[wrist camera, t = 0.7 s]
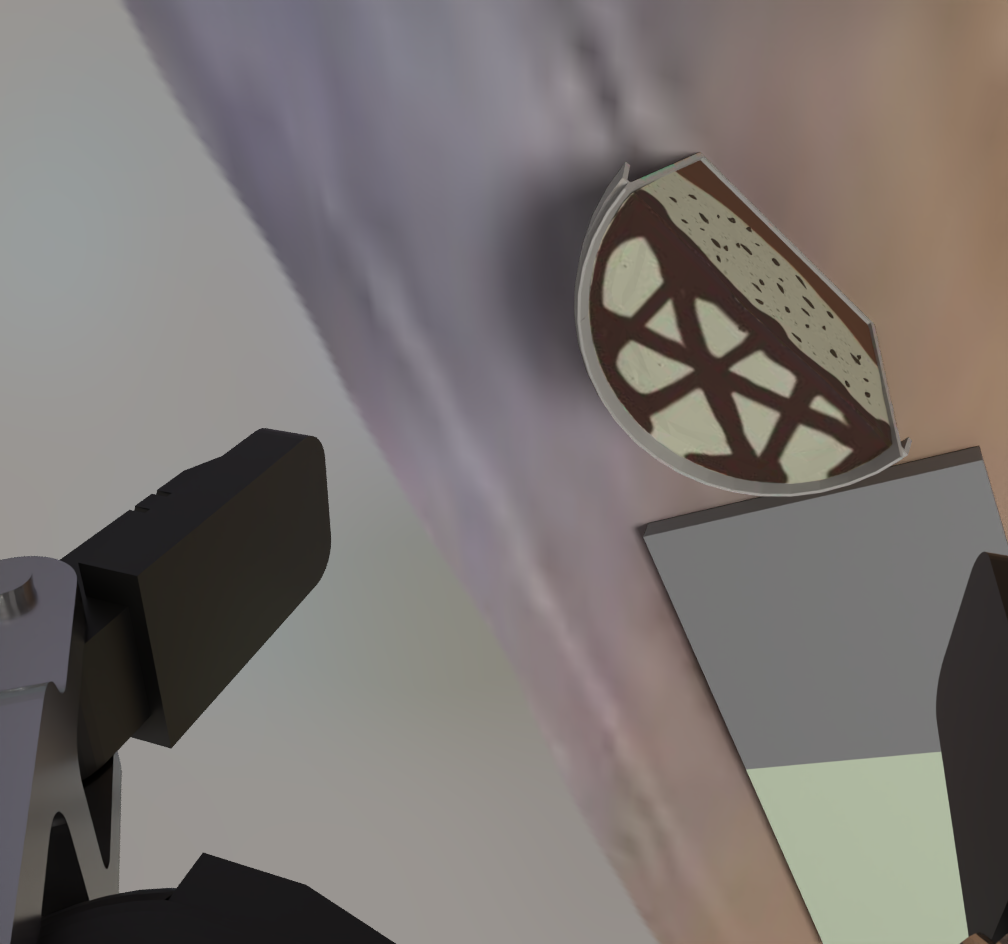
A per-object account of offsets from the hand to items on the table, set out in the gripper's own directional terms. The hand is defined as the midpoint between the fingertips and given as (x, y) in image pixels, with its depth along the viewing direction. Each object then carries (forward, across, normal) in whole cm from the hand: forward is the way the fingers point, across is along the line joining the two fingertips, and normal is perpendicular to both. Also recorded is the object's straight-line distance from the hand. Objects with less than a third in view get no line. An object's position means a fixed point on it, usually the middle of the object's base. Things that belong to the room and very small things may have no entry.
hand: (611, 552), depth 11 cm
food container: (+27, 0, +4) cm, 27 cm away
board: (+27, -10, +25) cm, 38 cm away
